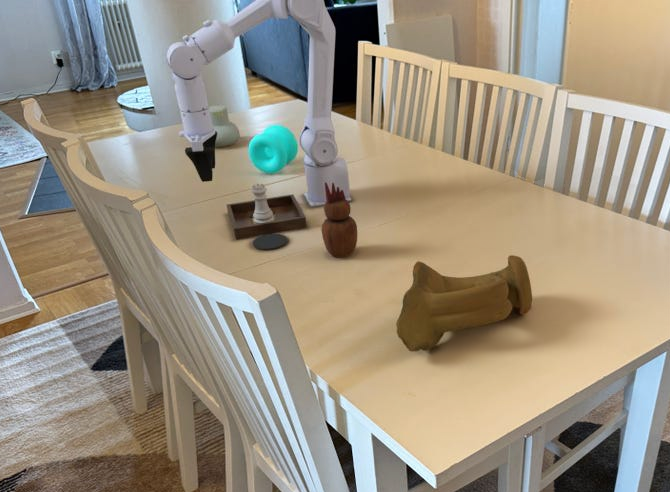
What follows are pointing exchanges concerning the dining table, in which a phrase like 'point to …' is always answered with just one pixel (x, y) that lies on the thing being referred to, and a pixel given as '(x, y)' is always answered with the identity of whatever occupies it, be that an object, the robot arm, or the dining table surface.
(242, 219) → the tray
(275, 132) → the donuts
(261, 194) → the rook chess piece
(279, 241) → the coaster
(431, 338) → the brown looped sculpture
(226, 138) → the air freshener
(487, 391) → the dining table surface
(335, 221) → the wooden figurine
